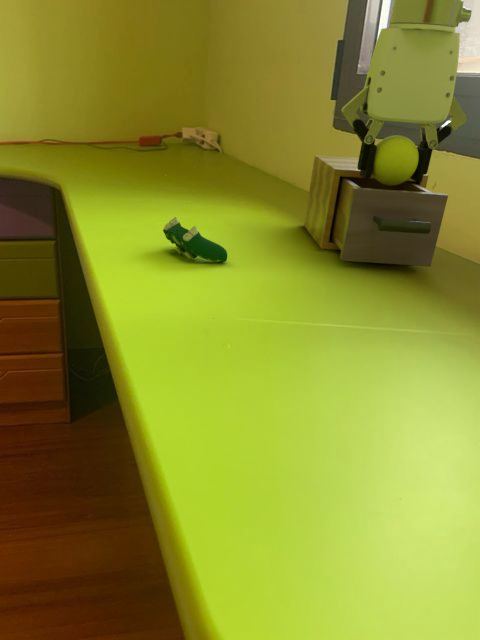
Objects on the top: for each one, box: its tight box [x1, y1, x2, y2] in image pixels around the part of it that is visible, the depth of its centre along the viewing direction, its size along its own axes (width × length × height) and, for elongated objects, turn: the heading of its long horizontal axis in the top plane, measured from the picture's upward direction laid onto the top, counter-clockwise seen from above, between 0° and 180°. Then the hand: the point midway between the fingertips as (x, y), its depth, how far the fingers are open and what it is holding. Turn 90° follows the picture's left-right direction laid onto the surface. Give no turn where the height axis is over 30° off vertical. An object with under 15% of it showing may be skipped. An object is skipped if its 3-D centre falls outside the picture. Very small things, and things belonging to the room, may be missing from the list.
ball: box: [372, 134, 419, 185], centre depth 88 cm, size 6×6×6 cm
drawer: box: [330, 176, 449, 267], centre depth 91 cm, size 19×12×9 cm, turn 178°
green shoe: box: [162, 216, 228, 263], centre depth 89 cm, size 9×4×6 cm
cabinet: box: [303, 154, 429, 251], centre depth 103 cm, size 16×13×11 cm
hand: (390, 177), depth 89 cm, fingers closed on ball, 5 cm apart
